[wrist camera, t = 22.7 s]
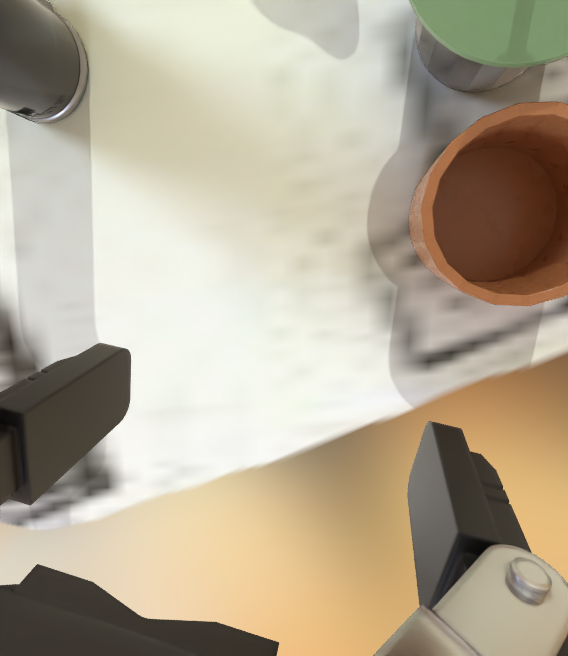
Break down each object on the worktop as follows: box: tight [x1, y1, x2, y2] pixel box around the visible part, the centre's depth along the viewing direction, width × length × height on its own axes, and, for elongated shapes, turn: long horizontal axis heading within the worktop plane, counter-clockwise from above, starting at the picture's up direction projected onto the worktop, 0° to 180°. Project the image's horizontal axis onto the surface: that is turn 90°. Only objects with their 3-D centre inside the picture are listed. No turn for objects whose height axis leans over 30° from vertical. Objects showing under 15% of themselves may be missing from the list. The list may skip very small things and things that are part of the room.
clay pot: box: [409, 102, 568, 306], centre depth 30 cm, size 12×12×10 cm
